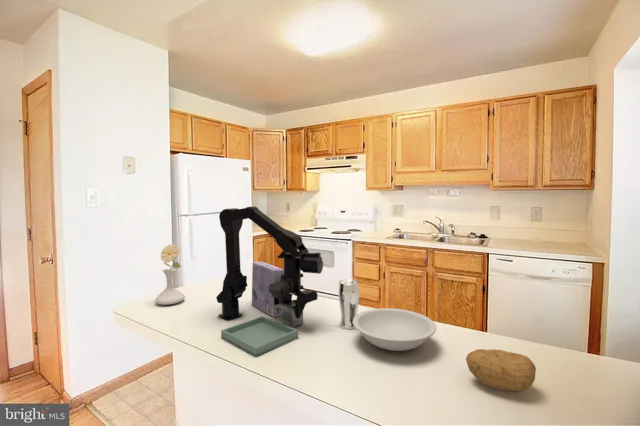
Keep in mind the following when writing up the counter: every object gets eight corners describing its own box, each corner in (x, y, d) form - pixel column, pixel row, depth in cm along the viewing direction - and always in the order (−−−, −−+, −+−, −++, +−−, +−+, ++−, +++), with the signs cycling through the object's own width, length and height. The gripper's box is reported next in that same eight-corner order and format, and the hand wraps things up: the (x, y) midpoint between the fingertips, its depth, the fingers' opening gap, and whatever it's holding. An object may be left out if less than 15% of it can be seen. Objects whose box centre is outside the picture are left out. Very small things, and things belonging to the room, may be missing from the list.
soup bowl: (382, 321, 113) (382, 303, 112) (450, 343, 95) (450, 321, 95) (336, 344, 96) (335, 322, 95) (408, 375, 79) (408, 349, 78)
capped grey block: (282, 324, 110) (281, 303, 110) (293, 319, 114) (293, 299, 114) (292, 328, 107) (292, 306, 106) (303, 323, 111) (303, 302, 110)
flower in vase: (149, 303, 133) (147, 244, 132) (175, 296, 143) (173, 240, 141) (167, 310, 126) (164, 246, 125) (193, 301, 135) (191, 242, 134)
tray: (221, 338, 100) (221, 330, 100) (262, 322, 112) (262, 315, 112) (256, 357, 88) (255, 348, 88) (298, 338, 100) (298, 330, 100)
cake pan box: (286, 316, 118) (286, 268, 118) (274, 319, 115) (274, 270, 114) (262, 302, 134) (261, 260, 133) (251, 305, 131) (250, 262, 130)
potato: (464, 369, 81) (465, 338, 81) (530, 381, 76) (531, 348, 75) (466, 392, 72) (467, 357, 72) (540, 407, 67) (542, 369, 66)
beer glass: (358, 330, 105) (358, 285, 104) (337, 329, 107) (337, 284, 106) (360, 322, 112) (360, 279, 111) (340, 320, 113) (340, 278, 113)
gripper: (256, 271, 110) (257, 316, 111) (293, 280, 97) (294, 331, 98) (281, 266, 118) (281, 307, 119) (318, 274, 106) (318, 320, 106)
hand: (292, 316), depth 110 cm, fingers closed on capped grey block, 5 cm apart
